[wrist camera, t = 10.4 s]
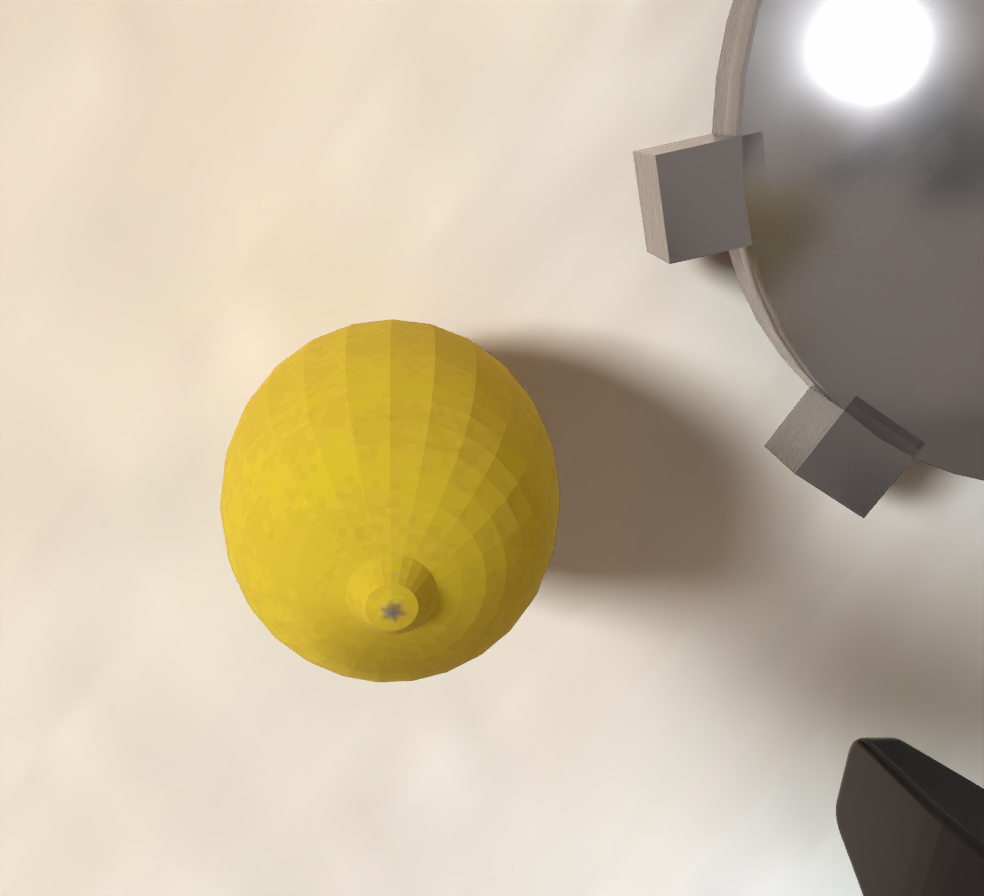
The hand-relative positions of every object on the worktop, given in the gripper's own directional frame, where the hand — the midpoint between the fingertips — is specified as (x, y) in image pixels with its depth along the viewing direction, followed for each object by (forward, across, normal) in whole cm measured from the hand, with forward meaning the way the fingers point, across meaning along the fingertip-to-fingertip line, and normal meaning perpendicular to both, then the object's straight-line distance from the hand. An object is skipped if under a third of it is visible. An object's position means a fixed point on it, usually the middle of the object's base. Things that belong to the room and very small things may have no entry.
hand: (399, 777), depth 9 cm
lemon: (+11, 0, 0) cm, 11 cm away
